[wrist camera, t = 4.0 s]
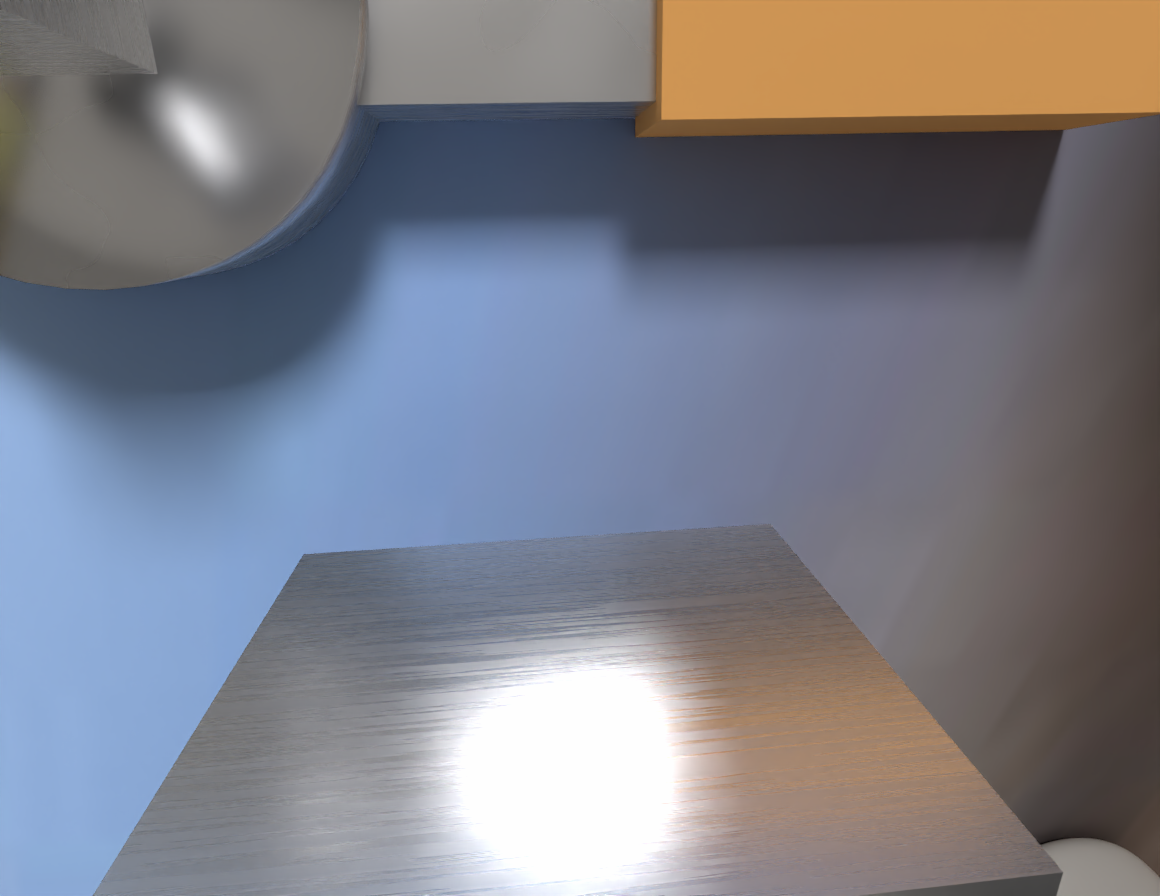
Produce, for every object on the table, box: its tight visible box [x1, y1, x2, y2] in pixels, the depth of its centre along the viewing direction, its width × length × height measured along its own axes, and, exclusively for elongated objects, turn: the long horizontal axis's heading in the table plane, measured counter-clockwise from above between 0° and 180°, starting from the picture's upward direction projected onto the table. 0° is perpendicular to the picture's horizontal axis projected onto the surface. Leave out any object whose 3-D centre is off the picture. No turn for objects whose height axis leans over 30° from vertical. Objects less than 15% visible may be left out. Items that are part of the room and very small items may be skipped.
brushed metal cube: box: [93, 524, 1063, 896], centre depth 7 cm, size 6×6×5 cm
